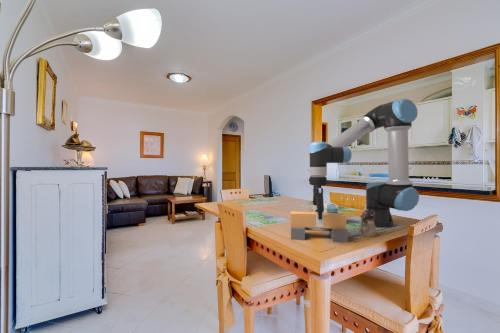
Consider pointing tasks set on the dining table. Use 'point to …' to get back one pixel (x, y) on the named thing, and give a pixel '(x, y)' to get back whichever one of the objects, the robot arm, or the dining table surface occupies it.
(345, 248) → the dining table surface
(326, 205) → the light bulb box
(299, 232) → the grey dumbbell
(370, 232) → the figurine
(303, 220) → the light wood long bar
